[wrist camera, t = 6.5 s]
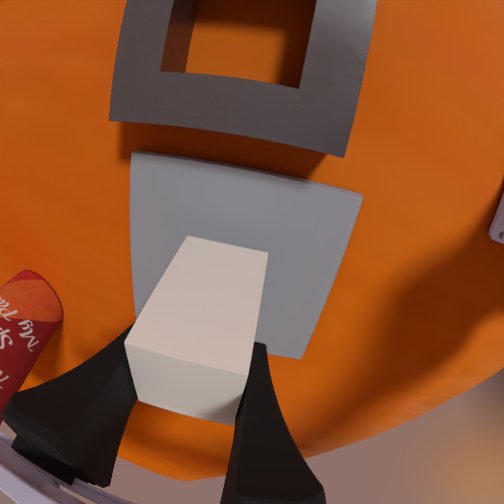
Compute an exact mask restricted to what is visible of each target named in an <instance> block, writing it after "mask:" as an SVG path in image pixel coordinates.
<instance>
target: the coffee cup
mask: <svg viewBox="0 0 504 504" xmlns="http://www.w3.org/2000/svg"><path fill="white" fill-rule="evenodd" d="M62 318H63V308H62V305H61V302H60V300H59V298H58V296H57V294H56V293H55V291H54V290H53V288H52V287H51V286H50V285H49V284H48V283H47V282H46V281H45V280H44V279H43V278H42V277H41V276H39V275H38V274H36V273H35V272H32V271H29V270H24V271H22V272H20V273H19V274H17V275H16V276H15V277H13V278H12V279H11V280H10V281H8V282H7V283H6V284H4V285H3V286H2V287H1V288H0V425H1V422H2V420H3V419H2V417H1V412H2V411H3V409H4V407H5V406H6V404H7V402H8V401H9V399H10V398H11V396H12V395H13V394H14V393H16V392H18V391H19V389H20V388H21V386H22V384H23V383H24V381H25V379H26V378H27V376H28V374H29V372H30V371H31V369H32V367H33V365H34V364H35V362H36V360H37V358H38V357H39V355H40V353H41V352H42V350H43V349H44V347H45V345H46V344H47V342H48V341H49V339H50V338H51V336H52V335H53V333H54V331H55V330H56V328H57V327H58V325H59V323H60V322H61V320H62Z"/></svg>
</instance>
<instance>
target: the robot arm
mask: <svg viewBox="0 0 504 504" xmlns="http://www.w3.org/2000/svg"><path fill="white" fill-rule="evenodd" d="M500 232H501V234H500ZM499 234H500V235H499ZM489 237H490V238H491V239H493V240H494V241H497V242H499V243H502V244H504V193H503V195H502V198H501V201H500V204H499V206H498V209H497V211H496V214H495V217H494V219H493V221H492V224H491V226H490V229H489ZM135 322H136V321H135ZM135 322H134V323H133V324H132V325H131V326H130V327H129V328H128V329H126V330H125V331H124V332H123V333H122V334H121V335H119V336H118V337H117V338H116V339H115V340H113V341H112V342H111V343H110V344H109V345H107V346H106V347H105V348H103V349H102V350H101V351H99V352H98V353H97V354H95V355H94V356H93V357H91V358H90V359H88V360H87V361H85V362H84V363H82V364H80V365H79V366H77V367H76V368H74V369H72V370H70V371H68V372H67V373H65V374H63V375H61V376H59V377H57V378H55V379H52V380H50V381H48V382H45V383H43V384H41V385H38V386H35V387H32V388H29V389H26V390H23V391H20V392H16V393H14V394H13V395H12V396H11V398H10V399H9V401H8V402H7V404H6V406H5V407H4V409H3V411H2V412H1V417H2V419H3V420H4V421H5V423H6V424H7V425H8V426H9V427H10V428H11V429H12V430H13V431H14V432H15V433H16V434H17V436H16V438H15V440H12V439H11V438H10V437H8V436H7V435H5V434H4V433H3V432H1V431H0V489H1V490H2V491H3V492H4V493H5V494H7V495H8V496H9V497H10V498H11V499H12V500H14V501H15V502H17V503H18V504H86V503H84V502H82V501H80V500H79V499H77V498H76V497H74V496H72V495H70V494H68V493H66V492H65V491H63V490H61V489H60V487H59V484H60V485H62V486H63V487H65V488H67V489H69V490H71V491H73V492H75V493H77V494H79V495H81V496H83V497H85V498H87V499H89V500H91V501H93V502H95V503H98V504H135V503H133V502H130V501H127V500H124V499H122V498H119V497H117V496H114V495H112V494H110V493H107V492H105V491H103V490H100V489H98V488H96V487H93V486H91V485H89V484H88V483H91V484H92V485H97V486H100V487H102V488H104V487H107V486H109V485H110V483H111V478H112V473H113V468H114V464H115V460H116V457H117V453H118V449H119V446H120V442H121V439H122V436H123V433H124V430H125V427H126V424H127V421H128V418H129V415H130V413H131V410H132V408H133V406H134V404H135V402H136V400H137V398H138V396H137V393H136V389H135V385H134V382H133V378H132V374H131V370H130V366H129V362H128V358H127V353H126V349H125V344H124V342H125V340H126V338H127V336H128V334H129V333H130V331H131V329H132V327H133V325H134V324H135ZM220 504H326V498H325V493H324V489H323V486H322V485H321V483H320V482H319V481H318V480H317V478H316V477H315V475H314V474H313V473H312V471H311V470H310V468H309V466H308V465H307V463H306V462H305V460H304V459H303V457H302V455H301V453H300V451H299V450H298V448H297V446H296V444H295V442H294V440H293V438H292V436H291V434H290V432H289V430H288V428H287V425H286V423H285V421H284V418H283V416H282V413H281V410H280V407H279V404H278V401H277V398H276V395H275V391H274V387H273V383H272V379H271V375H270V370H269V365H268V357H267V346H266V344H264V343H259V342H254V345H253V351H252V356H251V362H250V368H249V374H248V378H247V381H246V384H245V388H244V391H243V394H242V398H241V401H240V404H239V407H238V411H237V414H236V419H235V430H234V439H233V445H232V450H231V455H230V460H229V464H228V469H227V474H226V479H225V483H224V488H223V493H222V497H221V502H220Z"/></svg>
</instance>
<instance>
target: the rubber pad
mask: <svg viewBox="0 0 504 504" xmlns="http://www.w3.org/2000/svg"><path fill="white" fill-rule="evenodd" d="M362 200H363V196H362V195H361V194H360V193H357V192H353V191H349V190H346V189H342V188H338V187H334V186H330V185H326V184H322V183H318V182H314V181H310V180H305V179H301V178H297V177H292V176H288V175H283V174H278V173H274V172H269V171H264V170H259V169H254V168H249V167H244V166H239V165H233V164H228V163H222V162H216V161H210V160H204V159H198V158H191V157H185V156H178V155H171V154H163V153H156V152H148V151H139V150H136V151H134V152H131V171H130V242H131V264H132V280H133V293H134V304H135V314H136V320H137V318H138V317H139V315H140V313H141V311H142V310H143V308H144V306H145V304H146V303H147V301H148V299H149V298H150V296H151V294H152V293H153V291H154V289H155V288H156V286H157V284H158V282H159V281H160V279H161V278H162V276H163V274H164V273H165V271H166V269H167V268H168V266H169V264H170V263H171V261H172V260H173V258H174V256H175V255H176V253H177V252H178V250H179V248H180V247H181V245H182V244H183V242H184V240H185V239H186V237H187V236H191V237H196V238H201V239H206V240H210V241H215V242H220V243H225V244H229V245H234V246H239V247H243V248H248V249H253V250H258V251H262V252H267V253H268V259H267V265H266V271H265V278H264V284H263V290H262V296H261V303H260V309H259V315H258V321H257V327H256V333H255V339H254V342H259V343H264V344H266V346H267V354H272V355H278V356H283V357H289V358H295V359H301V358H302V356H303V354H304V351H305V349H306V347H307V345H308V342H309V340H310V338H311V335H312V333H313V331H314V329H315V326H316V324H317V321H318V319H319V317H320V314H321V312H322V309H323V307H324V305H325V302H326V300H327V297H328V295H329V292H330V290H331V287H332V284H333V282H334V279H335V277H336V274H337V271H338V269H339V266H340V263H341V261H342V258H343V255H344V253H345V250H346V247H347V244H348V241H349V238H350V236H351V233H352V230H353V227H354V224H355V221H356V218H357V215H358V212H359V209H360V206H361V203H362Z"/></svg>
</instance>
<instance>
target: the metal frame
mask: <svg viewBox="0 0 504 504" xmlns="http://www.w3.org/2000/svg"><path fill="white" fill-rule="evenodd" d="M198 3H199V0H127V3H126V7H125V11H124V16H123V21H122V25H121V30H120V36H119V41H118V47H117V53H116V60H115V67H114V74H113V82H112V91H111V101H110V113H109V121H120V122H136V123H149V124H160V125H170V126H179V127H187V128H195V129H203V130H210V131H217V132H223V133H229V134H236V135H241V136H247V137H253V138H258V139H263V140H268V141H273V142H278V143H283V144H287V145H292V146H296V147H301V148H305V149H309V150H314V151H318V152H322V153H326V154H329V155H333V156H337V157H341V158H344V156H345V152H346V148H347V144H348V140H349V136H350V132H351V128H352V124H353V120H354V116H355V111H356V107H357V103H358V98H359V94H360V89H361V85H362V80H363V75H364V71H365V66H366V61H367V56H368V51H369V45H370V40H371V34H372V29H373V23H374V17H375V11H376V4H377V0H315V5H314V10H313V15H312V20H311V26H310V31H309V36H308V41H307V46H306V51H305V55H304V60H303V65H302V70H301V75H300V80H299V85H298V89H297V88H292V87H288V86H283V85H277V84H272V83H266V82H260V81H254V80H248V79H241V78H233V77H225V76H216V75H206V74H194V73H185V69H186V63H187V58H188V52H189V47H190V41H191V36H192V31H193V26H194V21H195V17H196V12H197V7H198Z"/></svg>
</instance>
